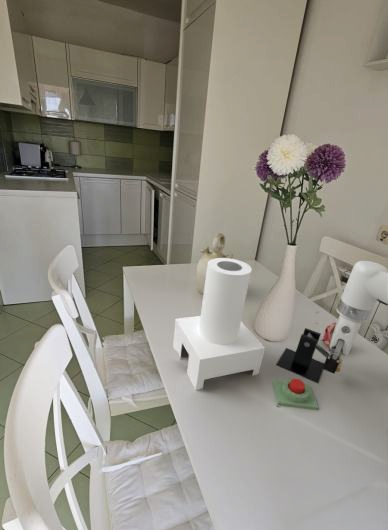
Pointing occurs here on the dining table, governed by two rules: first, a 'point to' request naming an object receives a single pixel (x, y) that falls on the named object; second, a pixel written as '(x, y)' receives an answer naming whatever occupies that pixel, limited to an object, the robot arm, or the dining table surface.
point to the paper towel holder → (220, 326)
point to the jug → (208, 256)
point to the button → (297, 386)
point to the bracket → (303, 358)
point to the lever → (324, 352)
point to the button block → (293, 395)
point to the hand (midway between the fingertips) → (331, 361)
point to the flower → (328, 334)
